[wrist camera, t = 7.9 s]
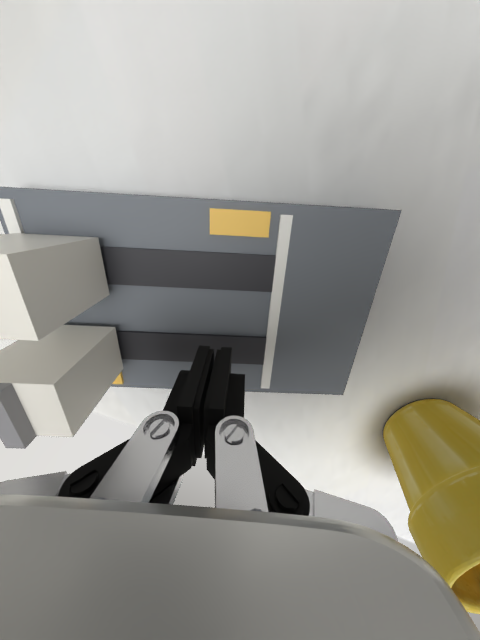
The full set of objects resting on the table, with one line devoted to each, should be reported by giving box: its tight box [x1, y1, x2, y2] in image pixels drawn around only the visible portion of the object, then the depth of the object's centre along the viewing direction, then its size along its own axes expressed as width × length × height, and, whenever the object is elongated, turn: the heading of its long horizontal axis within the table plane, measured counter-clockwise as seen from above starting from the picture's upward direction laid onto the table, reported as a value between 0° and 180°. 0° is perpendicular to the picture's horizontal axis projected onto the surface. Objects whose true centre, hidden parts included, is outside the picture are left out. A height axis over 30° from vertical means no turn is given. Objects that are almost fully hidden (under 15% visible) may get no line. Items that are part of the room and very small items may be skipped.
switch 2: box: [0, 325, 123, 449], centre depth 12 cm, size 4×3×6 cm
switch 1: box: [0, 233, 110, 341], centre depth 10 cm, size 4×3×6 cm
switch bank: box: [0, 187, 401, 395], centre depth 15 cm, size 20×12×2 cm, turn 87°
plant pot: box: [383, 399, 480, 614], centre depth 16 cm, size 10×10×10 cm
